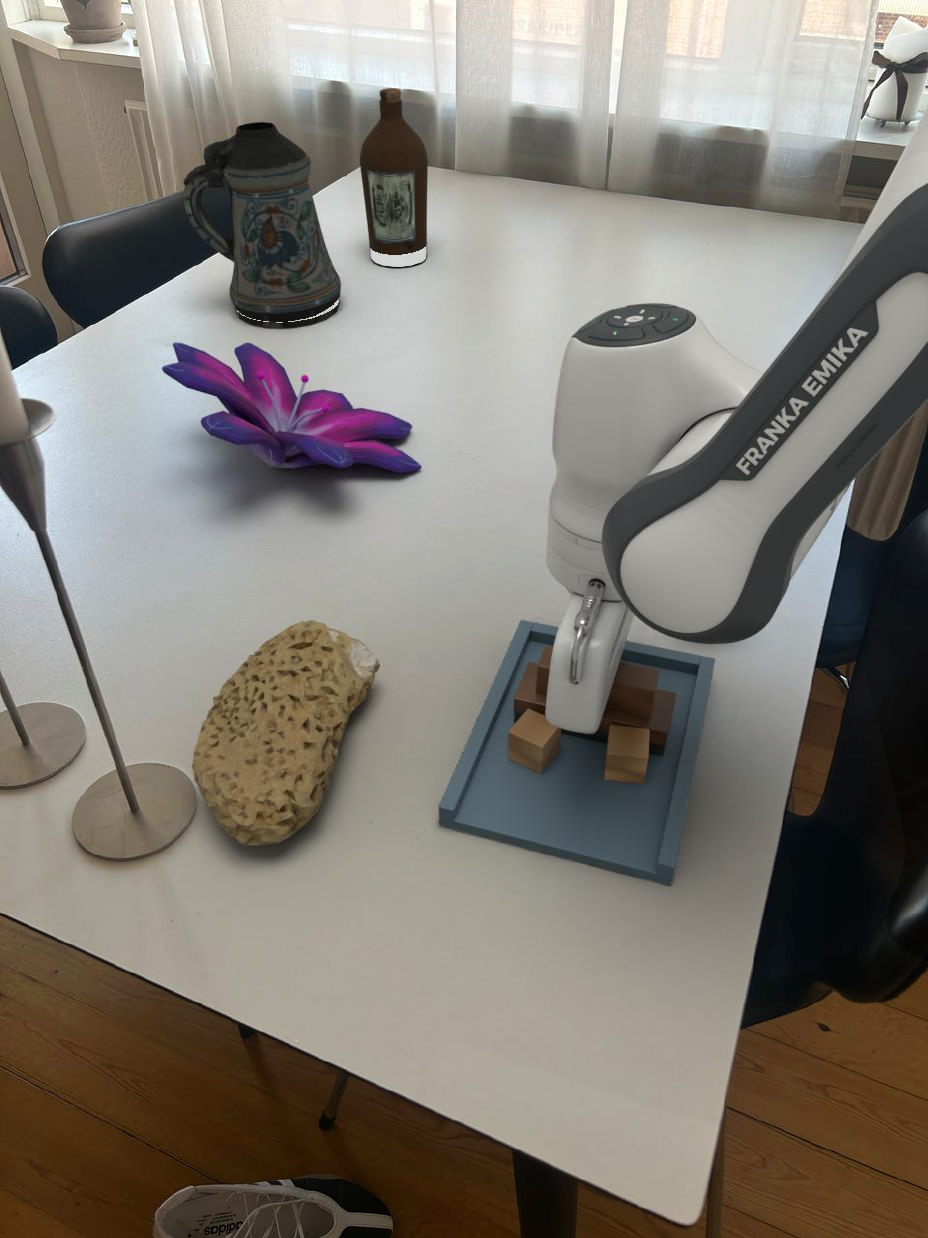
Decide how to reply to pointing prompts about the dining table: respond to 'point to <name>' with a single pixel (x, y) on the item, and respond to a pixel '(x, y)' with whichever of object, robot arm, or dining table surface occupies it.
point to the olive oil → (394, 181)
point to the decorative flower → (288, 414)
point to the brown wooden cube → (533, 741)
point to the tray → (581, 773)
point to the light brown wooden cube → (627, 754)
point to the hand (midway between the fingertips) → (596, 688)
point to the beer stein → (267, 228)
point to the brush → (608, 701)
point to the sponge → (280, 731)
